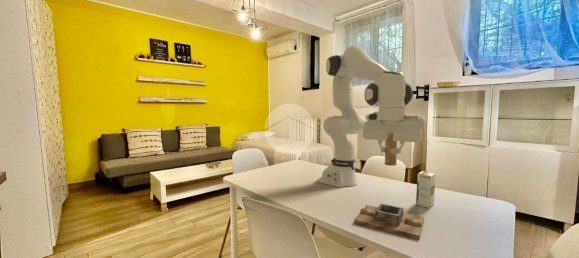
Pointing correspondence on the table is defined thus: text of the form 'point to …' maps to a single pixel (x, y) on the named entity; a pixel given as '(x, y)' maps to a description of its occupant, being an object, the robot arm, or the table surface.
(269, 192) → the table surface
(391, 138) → the pin
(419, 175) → the syrup box
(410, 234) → the wooden socket board
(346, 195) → the table surface
